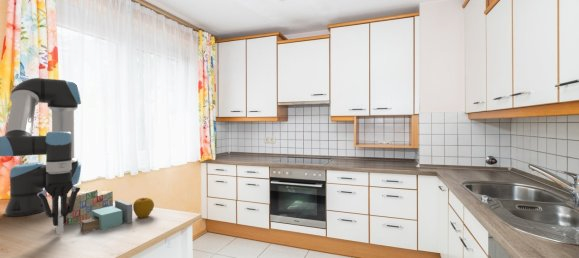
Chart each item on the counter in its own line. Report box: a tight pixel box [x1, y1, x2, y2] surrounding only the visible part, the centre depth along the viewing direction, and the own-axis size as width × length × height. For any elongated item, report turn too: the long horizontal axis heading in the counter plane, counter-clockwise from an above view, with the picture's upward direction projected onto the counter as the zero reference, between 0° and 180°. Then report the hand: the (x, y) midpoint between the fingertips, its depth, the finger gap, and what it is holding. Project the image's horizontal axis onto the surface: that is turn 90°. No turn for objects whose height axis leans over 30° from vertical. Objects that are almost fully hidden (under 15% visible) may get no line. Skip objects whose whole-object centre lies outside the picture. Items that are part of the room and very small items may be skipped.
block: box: [91, 205, 123, 230], centre depth 120 cm, size 10×8×6 cm
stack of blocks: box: [65, 188, 114, 226], centre depth 130 cm, size 21×6×12 cm, turn 171°
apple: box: [132, 197, 155, 219], centre depth 130 cm, size 8×8×9 cm
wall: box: [114, 199, 133, 224], centre depth 125 cm, size 12×2×8 cm, turn 55°
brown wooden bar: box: [80, 217, 100, 233], centre depth 116 cm, size 4×10×4 cm, turn 145°
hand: (59, 233), depth 107 cm, fingers closed
